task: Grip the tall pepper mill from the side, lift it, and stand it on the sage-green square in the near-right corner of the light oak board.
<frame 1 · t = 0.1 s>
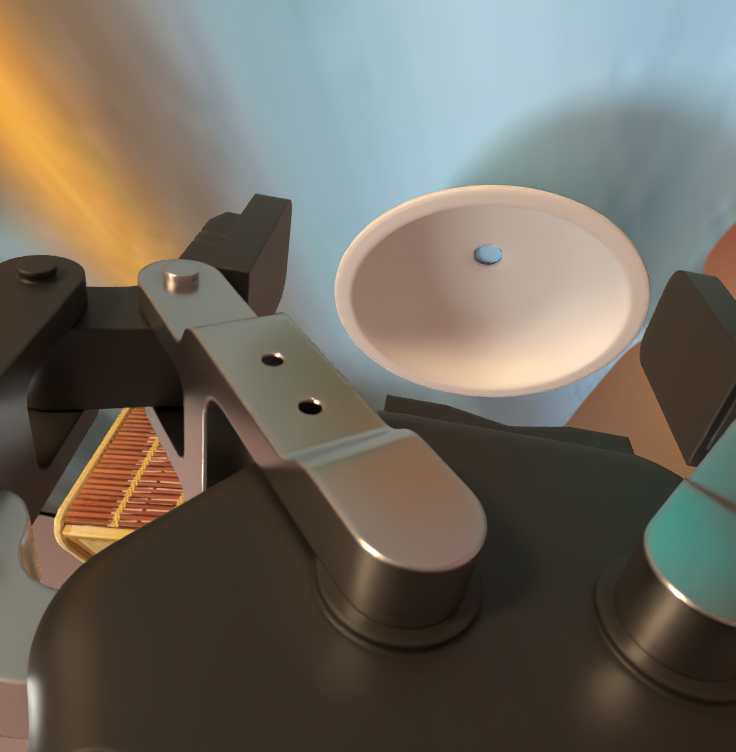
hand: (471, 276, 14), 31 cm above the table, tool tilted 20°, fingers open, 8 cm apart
soup bowl: (488, 251, 56), on the table
picnic basket: (251, 433, 88), on the table
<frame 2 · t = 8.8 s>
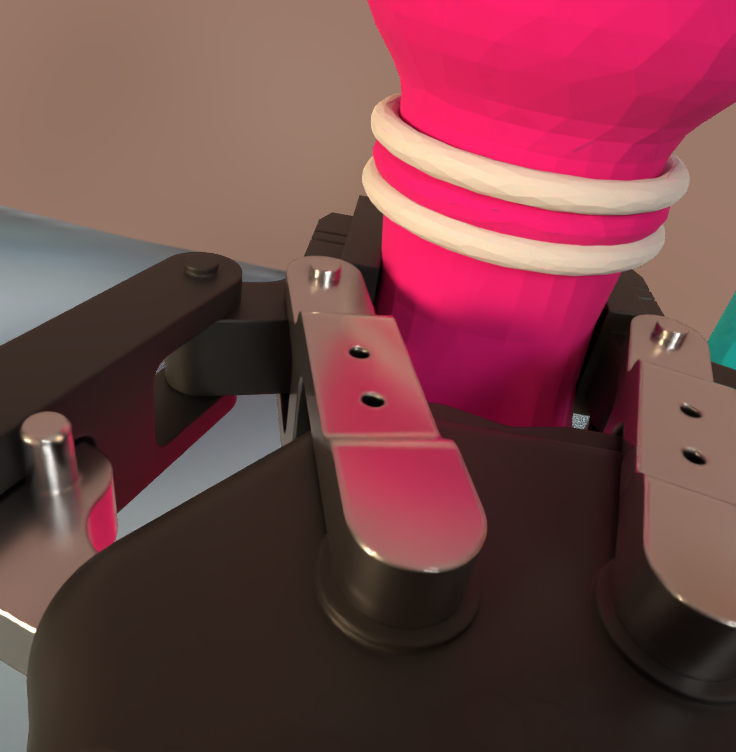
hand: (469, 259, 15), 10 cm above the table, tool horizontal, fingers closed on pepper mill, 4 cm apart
pepper mill: (386, 639, 18), on the table, touching gripper
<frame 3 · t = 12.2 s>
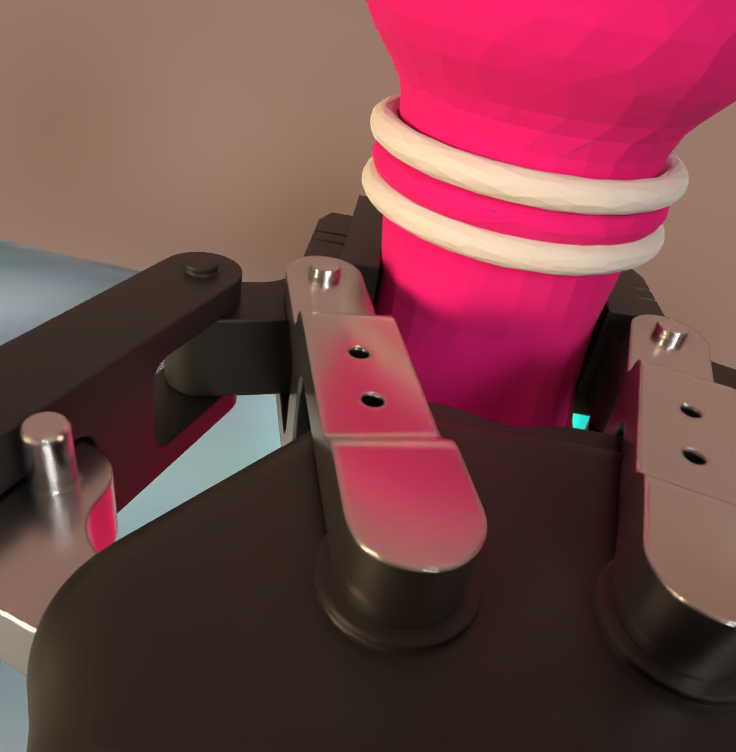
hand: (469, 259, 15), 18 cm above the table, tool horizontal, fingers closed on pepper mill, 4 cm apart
pepper mill: (387, 639, 18), point 8 cm above the table, touching gripper
when the fingers open (12 cm above the table, at t = 15.4 s): pepper mill stays where it is, resting on oak board.
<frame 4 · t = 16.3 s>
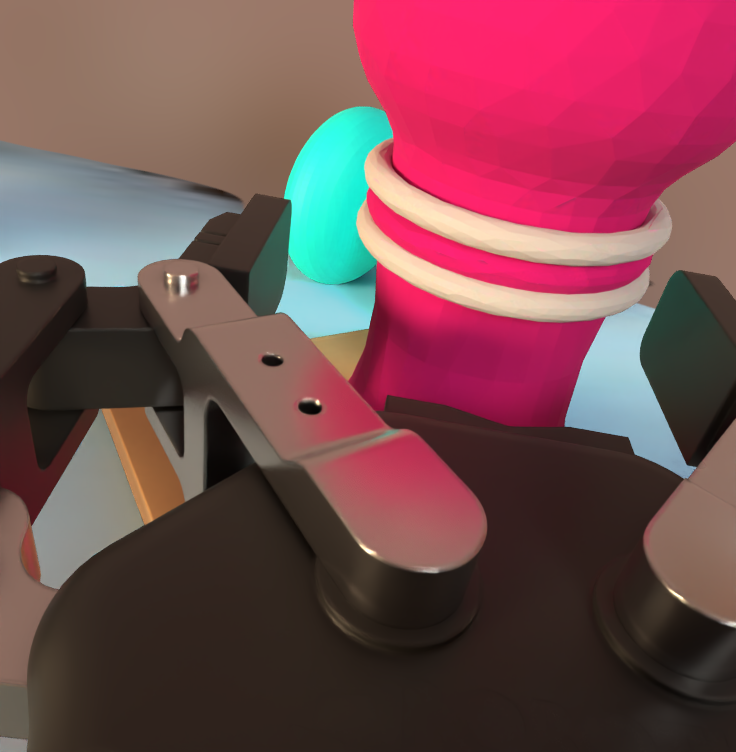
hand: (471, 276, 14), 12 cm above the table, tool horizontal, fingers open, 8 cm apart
oak board: (358, 524, 24), on the table
donuts: (386, 304, 39), on the table
pepper mill: (383, 656, 19), point 2 cm above the table, touching oak board
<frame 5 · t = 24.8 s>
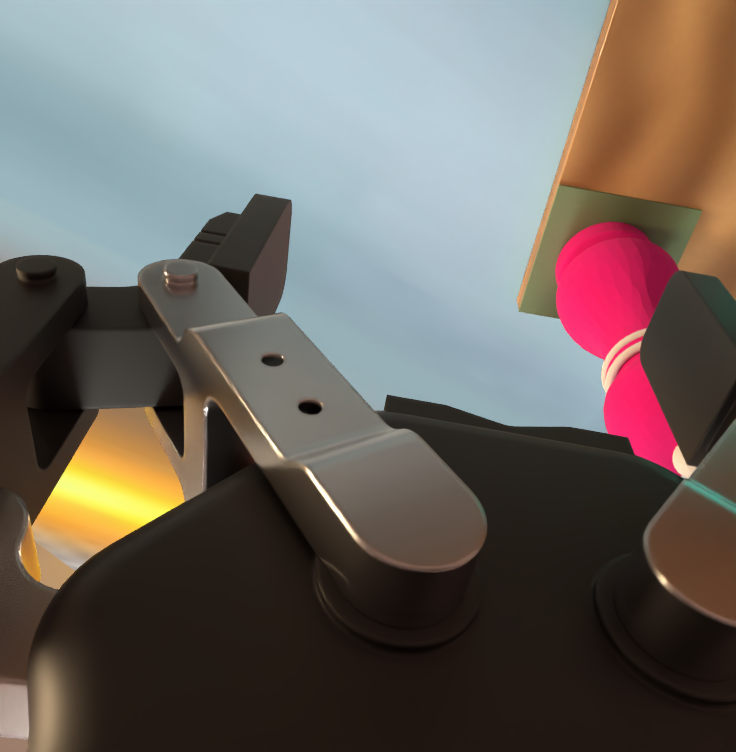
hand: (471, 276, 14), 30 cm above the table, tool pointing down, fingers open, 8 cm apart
oak board: (669, 180, 42), on the table
pepper mill: (603, 264, 44), point 2 cm above the table, touching oak board
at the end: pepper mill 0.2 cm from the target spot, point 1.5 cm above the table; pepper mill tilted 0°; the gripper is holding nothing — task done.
